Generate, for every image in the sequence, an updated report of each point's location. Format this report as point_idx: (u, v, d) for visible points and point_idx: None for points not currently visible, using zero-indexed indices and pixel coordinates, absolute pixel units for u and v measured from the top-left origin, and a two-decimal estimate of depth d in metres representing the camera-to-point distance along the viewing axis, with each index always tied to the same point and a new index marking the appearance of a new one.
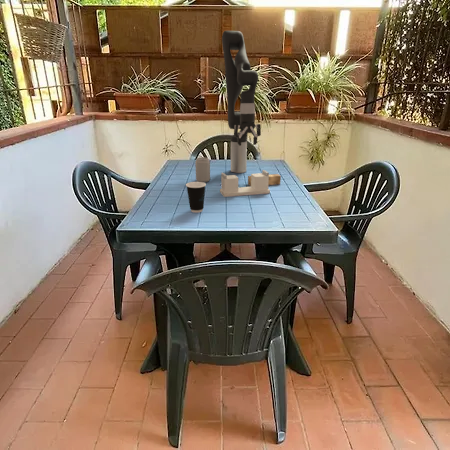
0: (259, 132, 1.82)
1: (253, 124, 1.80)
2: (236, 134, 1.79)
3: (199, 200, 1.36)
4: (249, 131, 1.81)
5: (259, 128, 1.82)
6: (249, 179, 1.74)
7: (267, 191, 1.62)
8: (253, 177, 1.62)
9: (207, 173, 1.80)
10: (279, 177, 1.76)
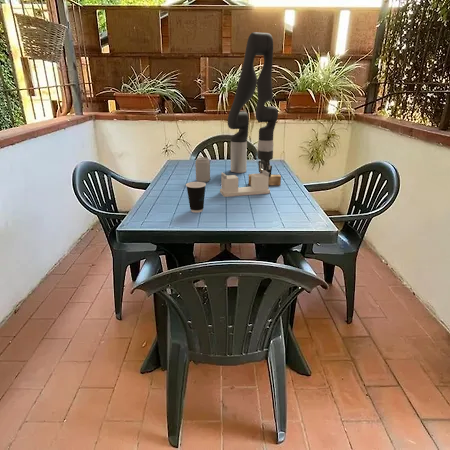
0: None
1: None
2: None
3: (199, 200, 1.36)
4: None
5: None
6: None
7: (267, 191, 1.62)
8: (253, 177, 1.62)
9: (207, 173, 1.80)
10: (279, 178, 1.74)
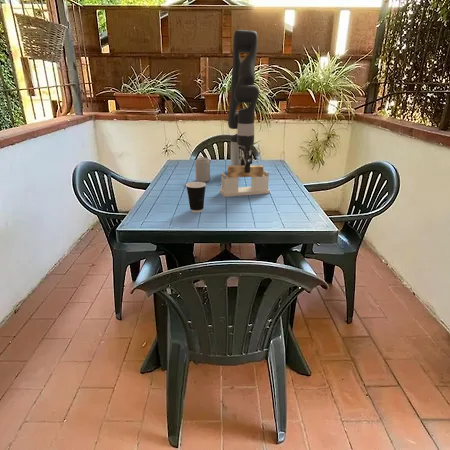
0: None
1: None
2: None
3: (199, 200, 1.36)
4: None
5: None
6: None
7: (267, 191, 1.62)
8: (253, 177, 1.62)
9: (207, 173, 1.80)
10: (261, 168, 1.58)
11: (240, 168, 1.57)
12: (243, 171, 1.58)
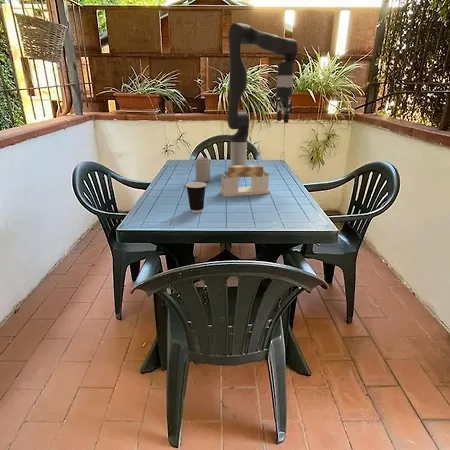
0: None
1: None
2: None
3: (199, 200, 1.36)
4: None
5: None
6: None
7: (267, 191, 1.62)
8: (253, 177, 1.62)
9: (207, 173, 1.80)
10: (261, 168, 1.58)
11: (240, 168, 1.57)
12: (243, 171, 1.58)
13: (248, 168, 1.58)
